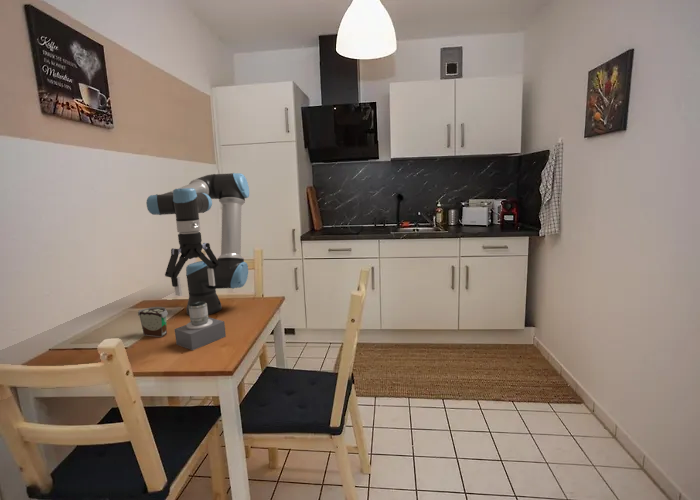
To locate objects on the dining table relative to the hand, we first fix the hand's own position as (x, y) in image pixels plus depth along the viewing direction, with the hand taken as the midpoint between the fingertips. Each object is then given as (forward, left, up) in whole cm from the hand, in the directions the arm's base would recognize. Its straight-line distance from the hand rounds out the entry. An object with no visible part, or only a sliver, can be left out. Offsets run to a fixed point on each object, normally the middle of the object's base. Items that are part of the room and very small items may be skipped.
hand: (196, 290), depth 137 cm
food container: (-22, -4, -20) cm, 30 cm away
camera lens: (0, 0, -13) cm, 13 cm away
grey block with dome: (0, 0, -19) cm, 19 cm away
